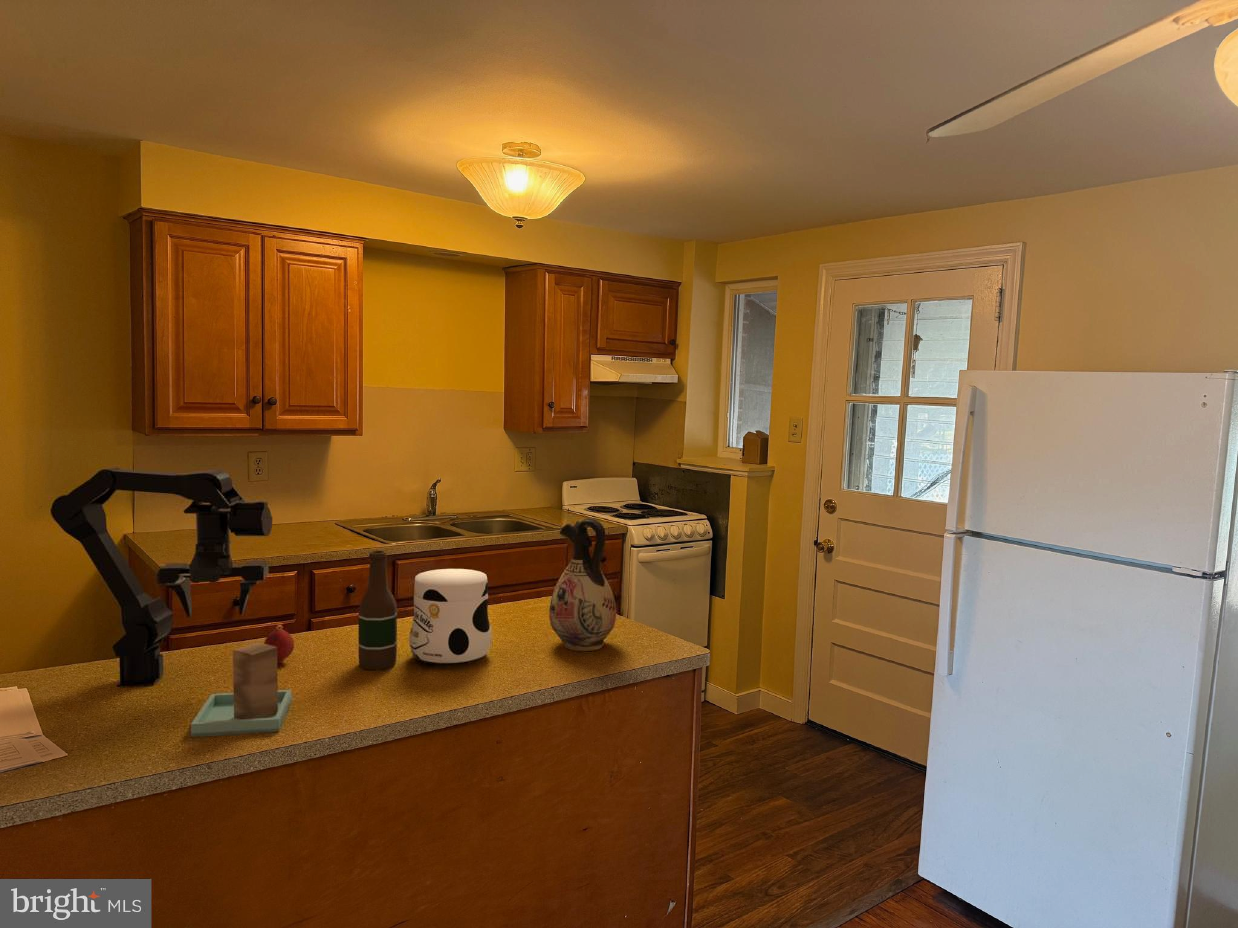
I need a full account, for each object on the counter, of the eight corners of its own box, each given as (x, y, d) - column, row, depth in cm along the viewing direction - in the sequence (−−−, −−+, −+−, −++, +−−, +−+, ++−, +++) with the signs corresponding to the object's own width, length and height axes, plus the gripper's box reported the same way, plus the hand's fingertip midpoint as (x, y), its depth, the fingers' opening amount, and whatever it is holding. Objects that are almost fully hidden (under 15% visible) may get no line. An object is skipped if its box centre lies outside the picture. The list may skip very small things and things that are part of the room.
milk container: (392, 664, 175) (392, 580, 173) (439, 641, 191) (440, 564, 189) (463, 677, 168) (464, 590, 166) (506, 652, 184) (507, 572, 182)
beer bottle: (404, 661, 176) (405, 550, 174) (382, 673, 169) (382, 556, 167) (373, 656, 179) (373, 546, 177) (350, 668, 172) (350, 553, 169)
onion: (283, 668, 170) (282, 630, 169) (257, 666, 171) (257, 628, 170) (299, 659, 176) (299, 622, 175) (275, 657, 177) (274, 620, 176)
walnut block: (233, 717, 144) (232, 649, 143) (258, 707, 148) (258, 641, 147) (253, 723, 141) (252, 654, 140) (277, 713, 146) (277, 646, 145)
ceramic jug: (533, 645, 190) (536, 515, 187) (580, 631, 201) (583, 509, 198) (588, 663, 179) (592, 525, 176) (634, 647, 190) (638, 517, 187)
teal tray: (191, 737, 137) (190, 724, 137) (211, 705, 150) (211, 693, 150) (279, 731, 140) (279, 718, 140) (291, 701, 153) (291, 689, 153)
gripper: (145, 545, 150) (148, 630, 151) (256, 542, 154) (258, 625, 155) (164, 534, 160) (167, 613, 162) (268, 532, 165) (269, 609, 166)
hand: (215, 615), depth 161 cm, fingers open, 9 cm apart
